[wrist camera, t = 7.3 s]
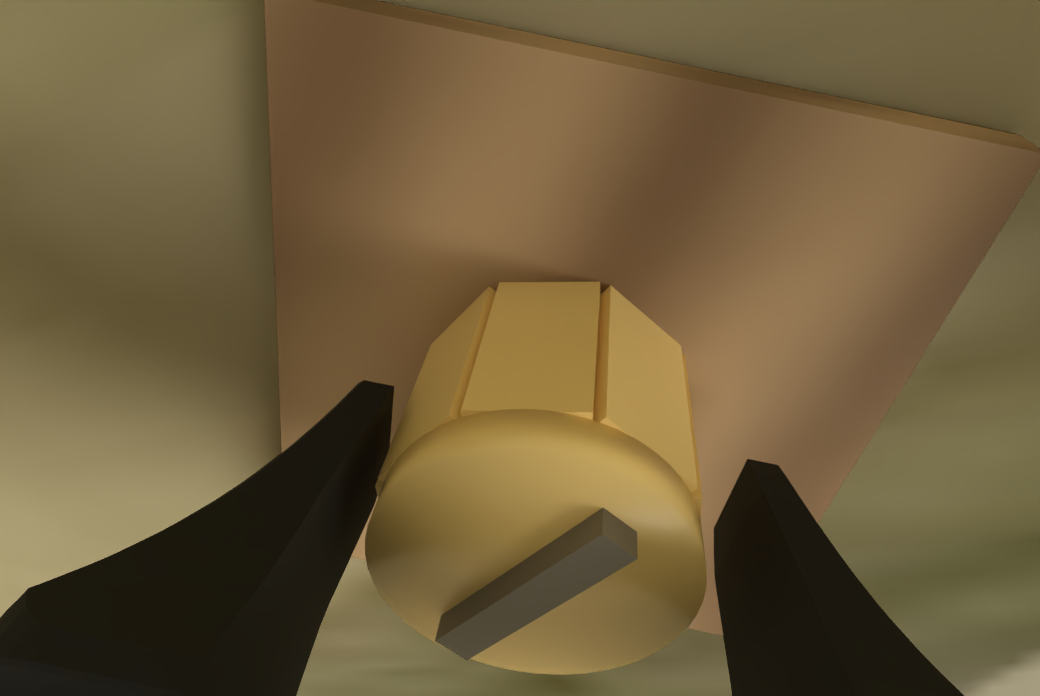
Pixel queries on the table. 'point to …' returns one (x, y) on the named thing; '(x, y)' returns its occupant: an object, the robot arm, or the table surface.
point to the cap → (544, 486)
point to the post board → (617, 224)
